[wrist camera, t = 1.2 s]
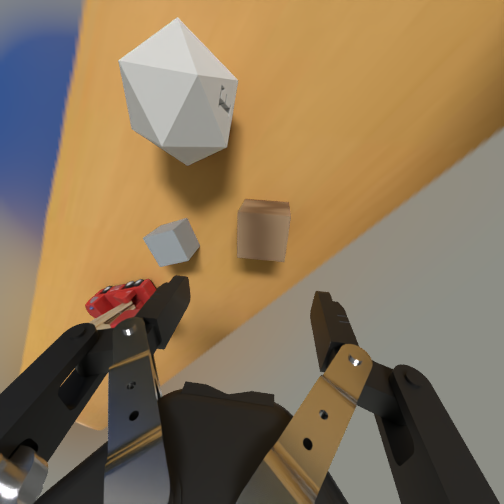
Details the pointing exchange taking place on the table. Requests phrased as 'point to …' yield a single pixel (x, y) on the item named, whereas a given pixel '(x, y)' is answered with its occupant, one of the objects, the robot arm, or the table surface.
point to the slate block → (172, 242)
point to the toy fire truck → (119, 303)
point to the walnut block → (263, 230)
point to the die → (179, 94)
